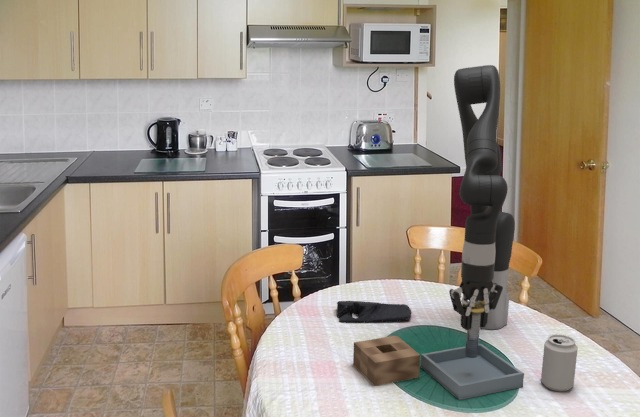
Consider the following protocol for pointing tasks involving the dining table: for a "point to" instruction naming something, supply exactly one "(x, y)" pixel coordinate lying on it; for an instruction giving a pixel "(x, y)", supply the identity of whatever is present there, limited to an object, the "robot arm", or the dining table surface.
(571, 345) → the can
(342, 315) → the dark slate chunk
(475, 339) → the pin
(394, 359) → the pin block
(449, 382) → the tray
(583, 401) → the dining table surface
